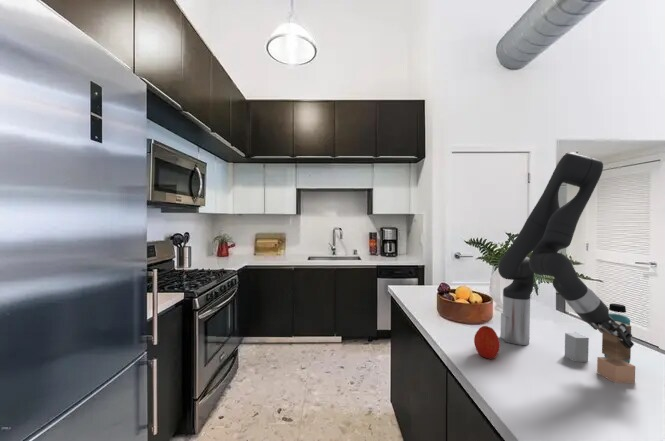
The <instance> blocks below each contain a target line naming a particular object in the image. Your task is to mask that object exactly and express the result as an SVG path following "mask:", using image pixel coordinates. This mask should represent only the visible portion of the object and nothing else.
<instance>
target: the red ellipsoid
mask: <svg viewBox="0 0 665 441" xmlns="http://www.w3.org/2000/svg"><path fill="white" fill-rule="evenodd" d="M473 343H474V347H475V350H476V351H477V353H478V354H479V355H480V357H482V358H485V359H489V360H494V359H495V358H496V357H497V356H498V355H499V354H498V353H499V352H500V347H501V344H500V339H499V336H498V334H497V332H496V331H495V330H494V328H492V327H490V326H488V325H483V326H481V327H479V328H478V330H476V332H475V335H474V338H473Z"/></svg>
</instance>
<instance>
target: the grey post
mask: <svg viewBox="0 0 665 441" xmlns="http://www.w3.org/2000/svg"><path fill="white" fill-rule="evenodd" d="M589 340H590V339H589V337H588V336H586V335H583V334H581V333H580V332H565V333H564V357H566V358H568V359H569V360H572V361H573V362H579V363H582V362H589V342H590V341H589Z"/></svg>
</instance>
